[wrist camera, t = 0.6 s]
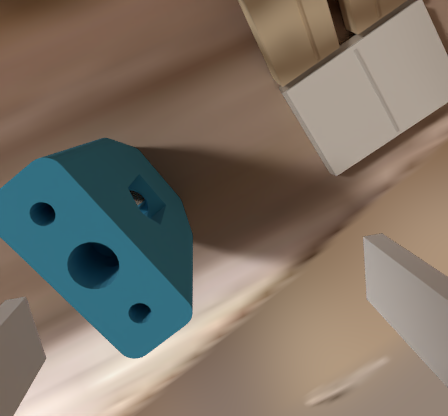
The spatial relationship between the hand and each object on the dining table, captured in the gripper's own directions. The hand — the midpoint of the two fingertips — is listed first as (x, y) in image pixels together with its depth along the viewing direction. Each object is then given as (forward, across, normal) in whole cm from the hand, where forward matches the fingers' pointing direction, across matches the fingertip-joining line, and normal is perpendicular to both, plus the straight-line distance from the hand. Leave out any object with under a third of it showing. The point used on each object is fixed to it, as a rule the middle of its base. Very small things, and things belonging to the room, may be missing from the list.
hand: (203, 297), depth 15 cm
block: (+26, -6, 0) cm, 27 cm away
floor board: (+26, +19, +6) cm, 33 cm away
